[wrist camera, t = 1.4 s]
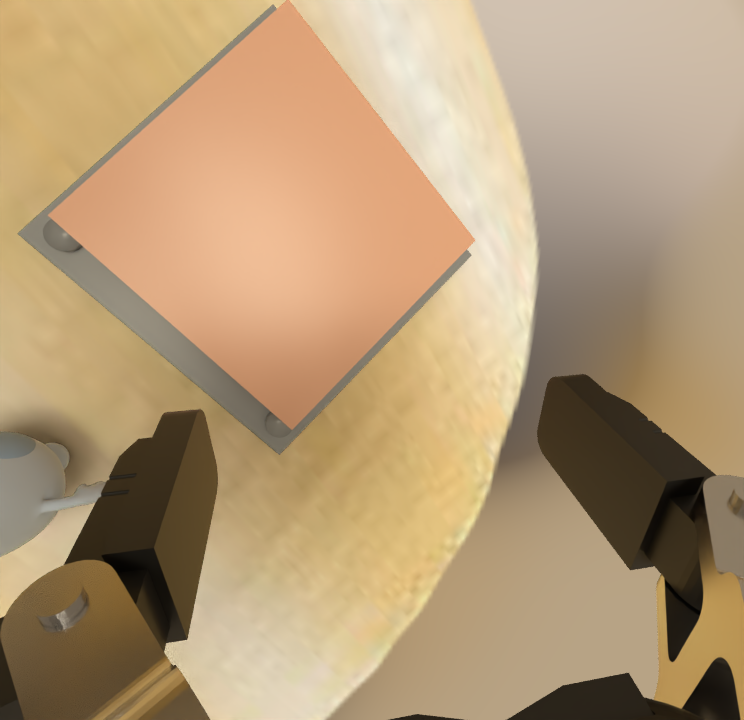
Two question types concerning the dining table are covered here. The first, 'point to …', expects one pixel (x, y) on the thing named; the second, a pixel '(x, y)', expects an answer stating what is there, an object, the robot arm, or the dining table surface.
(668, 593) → the robot arm
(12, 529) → the toy figure
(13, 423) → the dining table surface
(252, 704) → the dining table surface
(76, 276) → the orange square pedestal
